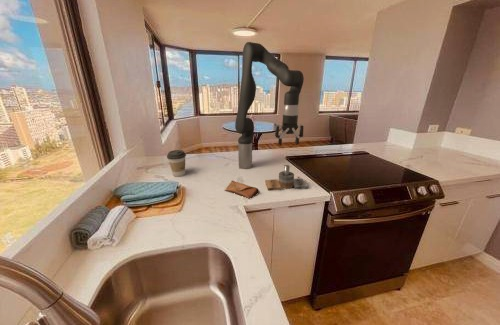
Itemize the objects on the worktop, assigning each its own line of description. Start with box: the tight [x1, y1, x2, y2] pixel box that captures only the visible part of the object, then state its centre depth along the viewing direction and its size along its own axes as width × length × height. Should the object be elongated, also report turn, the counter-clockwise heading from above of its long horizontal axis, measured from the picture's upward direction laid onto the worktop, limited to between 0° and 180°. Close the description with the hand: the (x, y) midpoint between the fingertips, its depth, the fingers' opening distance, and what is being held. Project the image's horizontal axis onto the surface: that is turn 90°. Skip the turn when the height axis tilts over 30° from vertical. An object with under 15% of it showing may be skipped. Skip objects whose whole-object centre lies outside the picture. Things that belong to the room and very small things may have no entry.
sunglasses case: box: [224, 180, 260, 200], centre depth 113 cm, size 18×7×7 cm, turn 58°
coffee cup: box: [166, 149, 187, 178], centre depth 132 cm, size 11×11×15 cm
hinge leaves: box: [264, 170, 309, 191], centre depth 119 cm, size 22×10×7 cm, turn 95°
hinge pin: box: [283, 164, 291, 176], centre depth 118 cm, size 3×3×12 cm
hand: (288, 144), depth 111 cm, fingers open, 8 cm apart
